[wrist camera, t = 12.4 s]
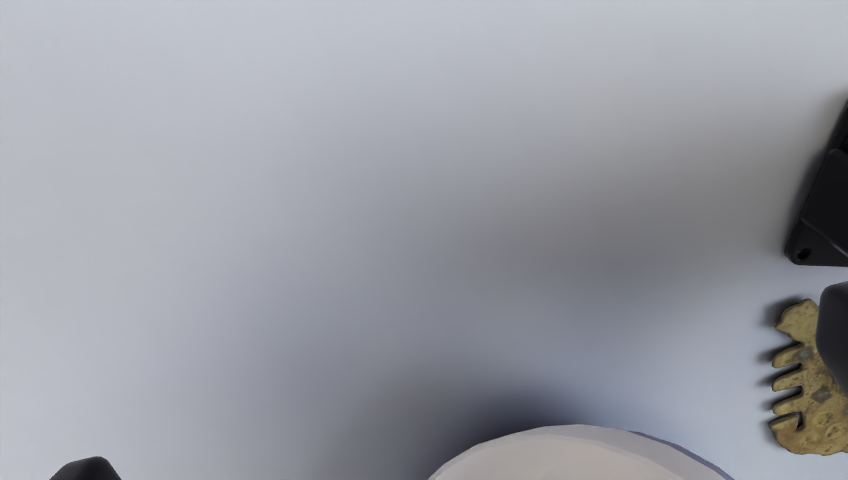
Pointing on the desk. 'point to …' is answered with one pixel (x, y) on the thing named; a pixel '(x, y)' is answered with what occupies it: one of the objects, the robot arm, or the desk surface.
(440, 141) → the desk surface
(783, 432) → the ornament
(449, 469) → the bowl
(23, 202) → the desk surface
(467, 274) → the desk surface
